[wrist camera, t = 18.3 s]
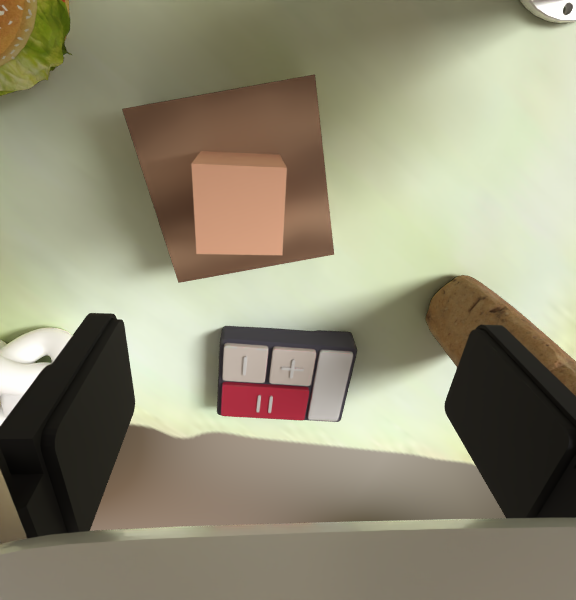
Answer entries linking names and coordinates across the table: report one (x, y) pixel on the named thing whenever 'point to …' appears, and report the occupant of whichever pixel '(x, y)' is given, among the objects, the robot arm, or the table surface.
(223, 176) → the terracotta cube
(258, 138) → the walnut block
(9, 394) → the white knot
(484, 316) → the brown rock
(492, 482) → the robot arm
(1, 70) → the food
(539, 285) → the table surface
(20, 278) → the table surface
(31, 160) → the table surface
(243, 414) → the calculator
